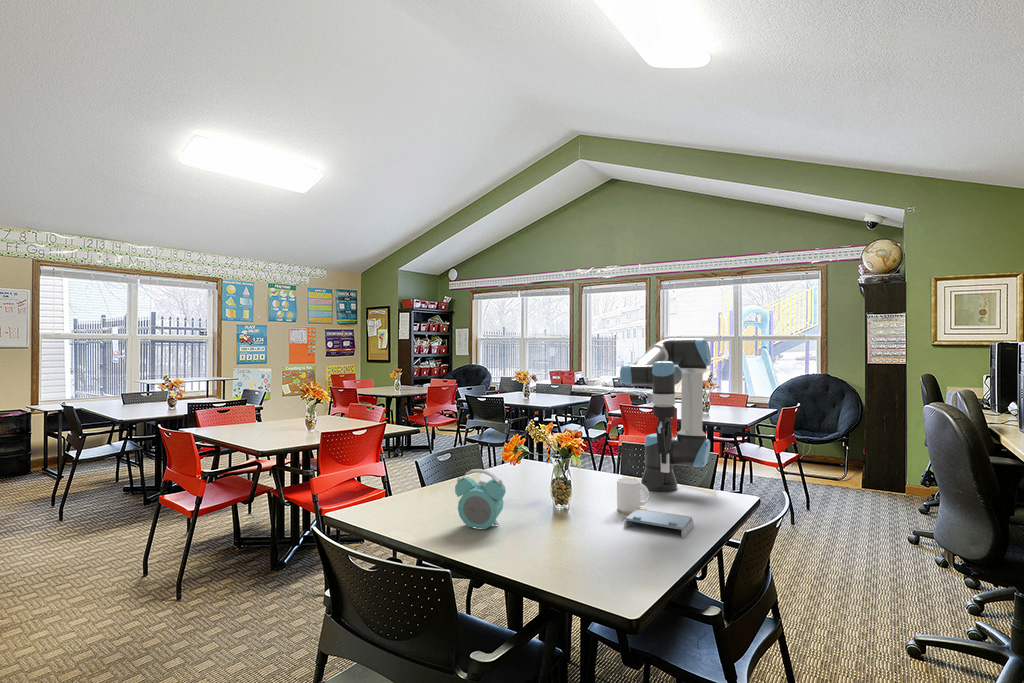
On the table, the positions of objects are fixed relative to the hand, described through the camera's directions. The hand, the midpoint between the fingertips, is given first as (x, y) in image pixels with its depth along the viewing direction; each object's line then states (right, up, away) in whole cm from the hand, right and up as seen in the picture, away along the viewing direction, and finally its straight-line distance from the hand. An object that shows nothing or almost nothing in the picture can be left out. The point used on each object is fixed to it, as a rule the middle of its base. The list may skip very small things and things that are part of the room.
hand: (665, 471), depth 193 cm
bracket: (-4, -17, -7) cm, 19 cm away
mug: (-9, -17, +11) cm, 22 cm away
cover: (-4, -15, -7) cm, 17 cm away
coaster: (-9, -17, +11) cm, 22 cm away
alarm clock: (-65, -18, -6) cm, 67 cm away
